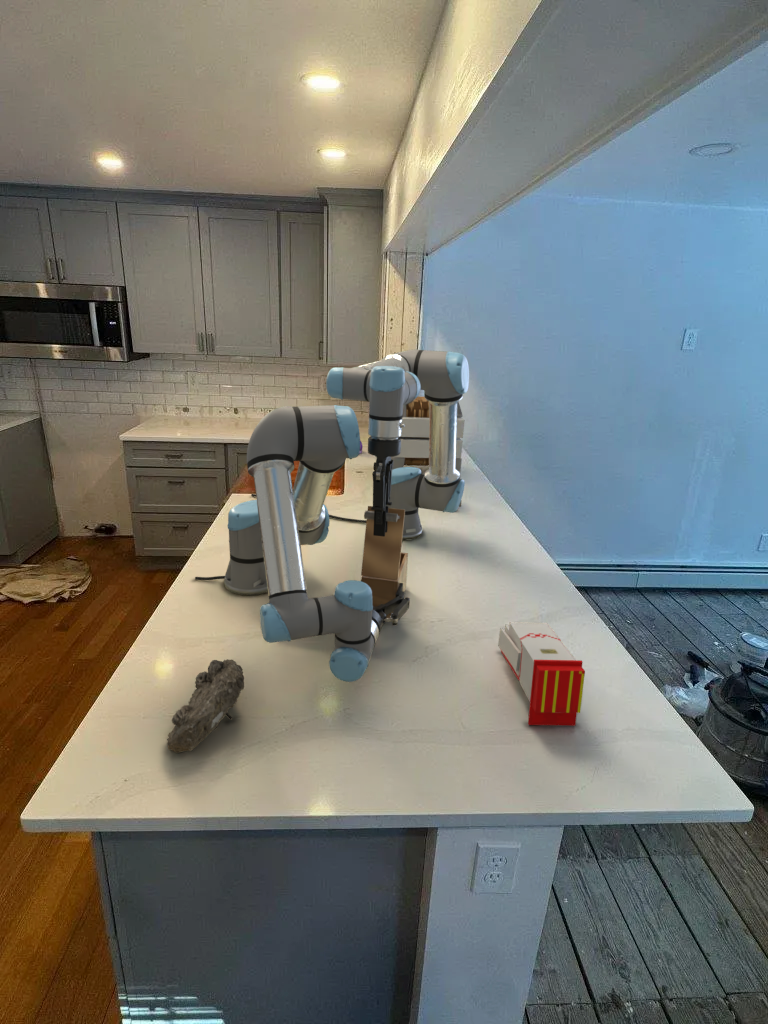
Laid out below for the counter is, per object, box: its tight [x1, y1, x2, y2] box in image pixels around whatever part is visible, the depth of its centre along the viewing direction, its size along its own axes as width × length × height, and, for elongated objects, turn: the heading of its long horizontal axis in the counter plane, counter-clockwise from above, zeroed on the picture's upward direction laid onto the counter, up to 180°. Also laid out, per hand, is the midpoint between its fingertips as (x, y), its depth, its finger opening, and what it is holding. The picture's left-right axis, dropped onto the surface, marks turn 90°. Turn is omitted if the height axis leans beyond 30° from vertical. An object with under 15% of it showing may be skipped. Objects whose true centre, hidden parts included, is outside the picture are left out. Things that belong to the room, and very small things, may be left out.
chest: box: [360, 551, 409, 616], centre depth 152 cm, size 17×9×11 cm, turn 169°
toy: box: [497, 621, 586, 727], centre depth 121 cm, size 12×13×30 cm
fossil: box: [166, 658, 245, 754], centre depth 106 cm, size 22×10×15 cm
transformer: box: [391, 396, 465, 475], centre depth 268 cm, size 34×33×41 cm
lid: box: [360, 505, 405, 580], centre depth 138 cm, size 18×9×8 cm
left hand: (382, 585), depth 147 cm, fingers closed on chest, 9 cm apart
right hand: (380, 533), depth 136 cm, fingers closed on lid, 2 cm apart
